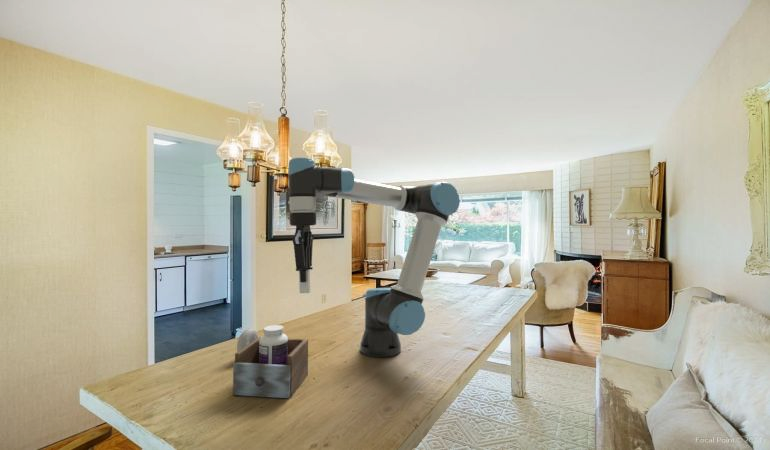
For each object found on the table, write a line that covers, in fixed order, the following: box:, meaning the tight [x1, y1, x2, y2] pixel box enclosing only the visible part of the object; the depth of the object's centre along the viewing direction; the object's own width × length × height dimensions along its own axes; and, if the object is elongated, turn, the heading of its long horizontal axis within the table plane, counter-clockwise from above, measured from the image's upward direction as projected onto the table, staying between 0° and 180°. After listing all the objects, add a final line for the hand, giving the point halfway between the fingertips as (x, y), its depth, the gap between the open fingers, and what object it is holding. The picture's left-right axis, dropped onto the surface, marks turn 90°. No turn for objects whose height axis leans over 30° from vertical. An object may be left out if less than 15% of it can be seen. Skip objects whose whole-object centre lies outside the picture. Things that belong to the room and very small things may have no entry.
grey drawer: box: [232, 361, 291, 399], centre depth 99 cm, size 16×15×8 cm
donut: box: [236, 327, 259, 353], centre depth 121 cm, size 10×3×10 cm, turn 168°
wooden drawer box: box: [234, 336, 309, 398], centre depth 101 cm, size 16×14×11 cm
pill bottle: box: [259, 324, 289, 365], centre depth 101 cm, size 8×8×14 cm
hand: (304, 292), depth 101 cm, fingers closed
